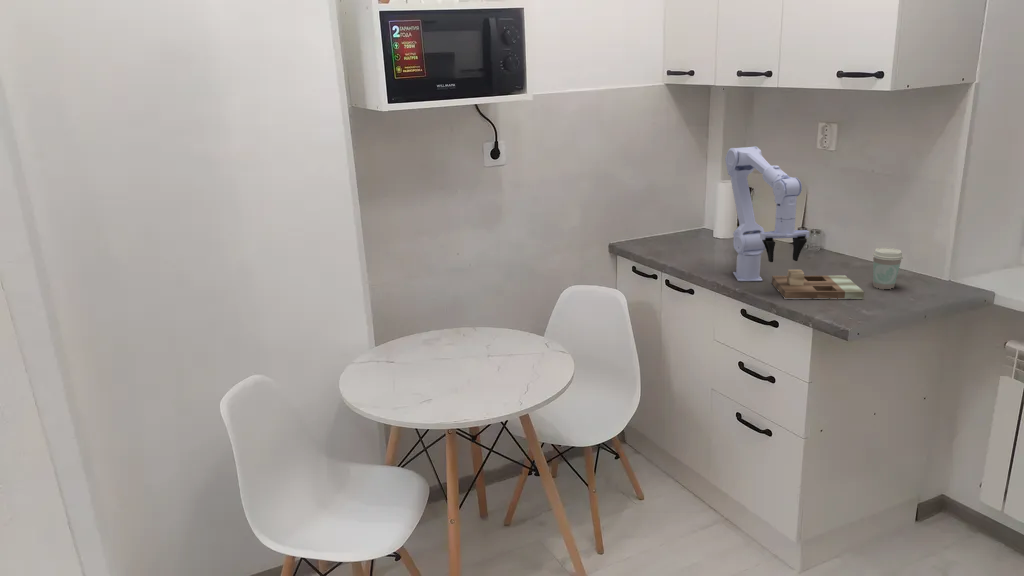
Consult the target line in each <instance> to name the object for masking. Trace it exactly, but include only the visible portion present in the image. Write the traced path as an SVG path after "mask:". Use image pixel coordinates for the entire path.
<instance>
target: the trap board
mask: <svg viewBox="0 0 1024 576" xmlns="http://www.w3.org/2000/svg"><path fill="white" fill-rule="evenodd" d="M771 284H772V285H773V287H774V286H775V287H776V288H777V289H778V290H779V292H780V293H781V294H782V295H783V296H784V297H785V298H837V299H838V298H845V299H847V298H851V299H863V300H864V297H865V291H864V290H863V289H862V288H861V287H860V286H858V285H857V284H856V283H855V282H853V281H852V280H851V279H850V278H849V277H847V275H804V284H803V285H800V286H790V285H789V284H788V282H787V275H772V277H771ZM775 287H774V288H775ZM776 288H775V289H776ZM777 289H776V290H777ZM778 290H777V291H778ZM779 292H778V293H779ZM780 293H779V294H780ZM781 294H780V295H781ZM782 295H781V296H782Z"/></svg>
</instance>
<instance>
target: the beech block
mask: <svg viewBox="0 0 1024 576" xmlns="http://www.w3.org/2000/svg"><path fill="white" fill-rule="evenodd" d="M786 276H787V282H788V284H789V285H790V286H800V285H803V284H804V276H805V272H804V271H803V270H802V269H787V275H786Z"/></svg>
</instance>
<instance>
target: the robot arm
mask: <svg viewBox="0 0 1024 576" xmlns="http://www.w3.org/2000/svg"><path fill="white" fill-rule="evenodd" d="M725 166H726V170H727V174H728V175H729V176H730V177H729V179H730V183H731V188H732V193H733V199H734V203H735V208H736V209H735V210H736V214H737V218H738V224H739V225H738V227H737V228H736V229H735V230H734V231H733V233H732V235H733V241H732V243H733V249H734V251H736V253H737V256H736V268H735V269H736V271H733V272H732V274H733V276H734V277H735V279H736V280H737V281H738V282H763V281H764V280H763V278H762V277H761V275H760V272H761V259H762V254H764V251H766V253H767V260H768V262H769V263H773V262H774V255H775V254H774V253H775V252H774V251H775V246H776V241H775V240H776V239H792V249H793V250H792V261H795V262H798V261H799V257H800V254H801V252H802V250H803V248H804V246H805V245H806V243H807V238H810V231H809V230H807V229H804V230H803V229H801V230H800V229H799V230H798V229H796V218H797V217H796V216H797V199H798V197H799V196H800V195H801V193H802V189H803V185H802V181H801V180H800V179H799V177H797V176H794V177H792V176H789V174H787V173H786V172H785V171H783V170H782V168H781V167H780V166H779V165H777V164H776V165H774V164H773V165H771V164H770V163H769V162H768V161H767V160H766V159H765V157H764V156H763V153H762V150H761V148H759V147H758V146H755V145H753V146H749V147H748V146H745V147H744V146H743V147H731V148H729V149H728V150H727V153H726V155H725ZM754 170H756V171H758V172H759V173H760V174H761V175H762V180H763V181H764V182H765V183H766V184H768V186H769V187H771V188H772V193H773V196H774V202H775V205H776V208H775V225H774V230H770V231H765V229H764V227H763V226H761V225H760V224H758V223H757V222H756V218H755V217H756V216H755V212H754V205H753V201H752V196H751V195H752V194H751V191H750V186H749V181H748V176H750V175H751V174H752V173H753V172H754ZM774 239H775V240H774Z"/></svg>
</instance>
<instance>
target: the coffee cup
mask: <svg viewBox="0 0 1024 576" xmlns="http://www.w3.org/2000/svg"><path fill="white" fill-rule="evenodd" d="M872 257H873V261H872V262H873V265H872V266H873V267H872V268H873V269H872V270H873V271H872V272H873V273H872V274H873V277H872V279H873V282H872V283H873V288H875V287H876V288H875V289H878V288H879V289H878V290H884V289H890V290H892V289H891V288H893V289H894V288H895V284H896V282H897V281H896V280H897V277H898V273H899V271H900V266H901V263H902V259H904V258H903V257H904V255H903V252H902V250H901V249H897V248H893V247H879V248H878V247H877V248H875V250H874V252H872Z"/></svg>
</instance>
